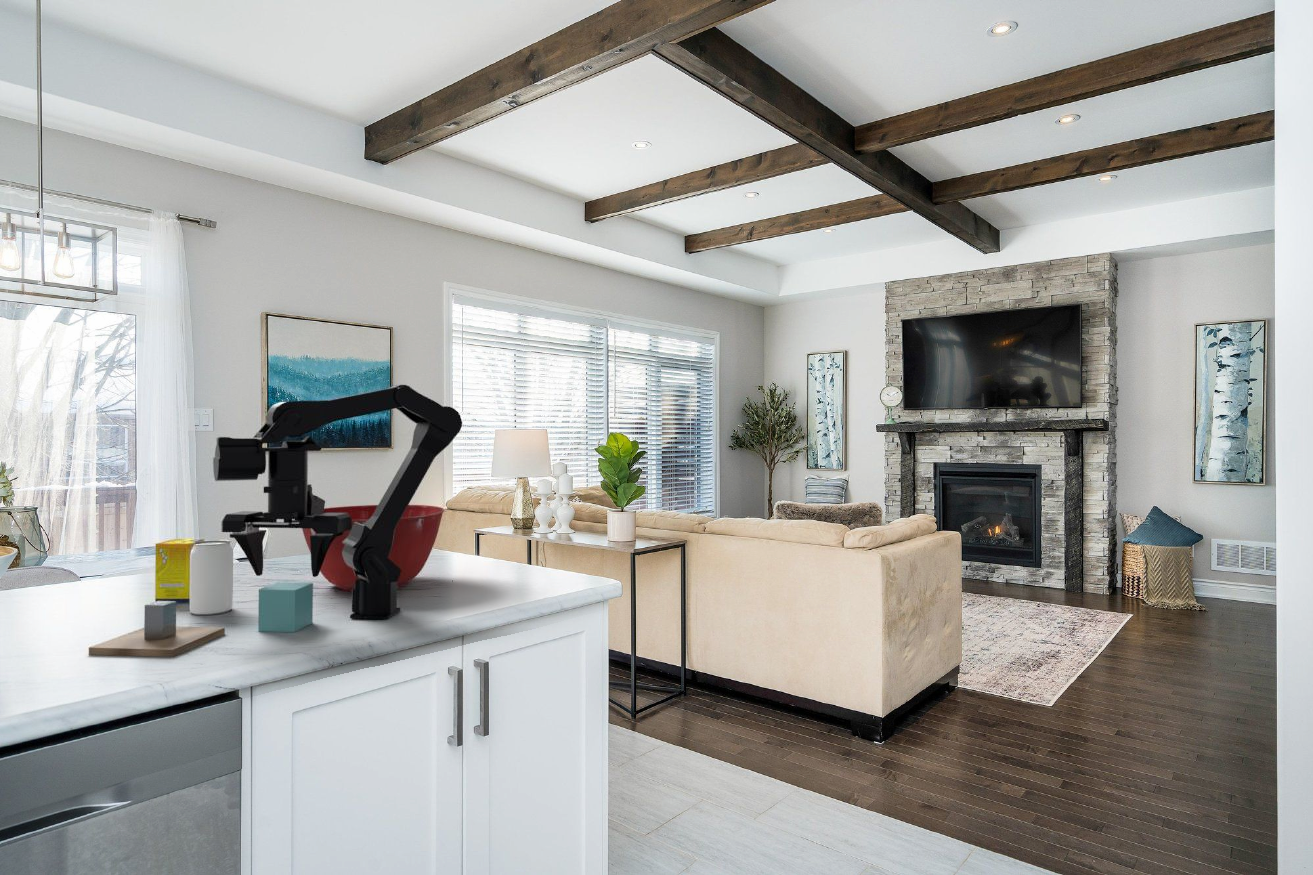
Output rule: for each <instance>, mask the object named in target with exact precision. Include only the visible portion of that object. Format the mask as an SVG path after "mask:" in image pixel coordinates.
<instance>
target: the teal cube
mask: <svg viewBox="0 0 1313 875" xmlns="http://www.w3.org/2000/svg"><path fill="white" fill-rule="evenodd" d="M313 599H314V583H313V582H295V581H294V582H292V581H291V582H288V581H286V582H285V581H284V582H283V581H282V582H281V581H278V582H275V583H273V584H270V585H267V586H264V587H261V588H259V589H258V616H257V618H258V619H257V620H258V621H257V622H258V627H257V628H258V630H257V631H258V632H274V633H275V632H276V633H280V632H281V633H295V632H297V631H299V630H301V629H303V628H305V627H307V626H310V625H311V624H313V621H314V620H313V619H314V618H313V616H314V615H313V610H314V608H313V607H314V603H313V602H314V600H313Z"/></svg>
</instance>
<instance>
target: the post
mask: <svg viewBox="0 0 1313 875" xmlns="http://www.w3.org/2000/svg"><path fill="white" fill-rule="evenodd" d="M143 625H144V627H143V628H144V639H148V640H164V639H167V638H169V637H172V636H174V635H176V626H177V603H176V601H156V602H155V601H154V602H150V603H146V604H144V624H143Z"/></svg>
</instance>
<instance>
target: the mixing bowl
mask: <svg viewBox="0 0 1313 875" xmlns="http://www.w3.org/2000/svg"><path fill="white" fill-rule="evenodd" d="M378 505H379V504H368V505H367V504H366V505H365V504H364V505H349V506H346V505H345V506H335V507H333V506H332V507H324V512H323V514H324V513H348V514H349V516H350V517H351V519H352V526H353V524H354V523H355V522H357V523H360V524H364V523H365V522H366V521H368V520H369V519H370V518H371V516H372V515H373V513H374V511H375V510H376V508H377V506H378ZM444 512H445V508H444V507H441V506H435V505H427V504H426V505H425V504H409V505H408V506H407V508H406V510H405V512H404V514H403V515H402V517H401V519H400V521H399V522H398V524H397V526H396V528H395V533H394V539H393V546H392V549H391V551H390V554H389V557H388V558H389V559H390V560H391V561H392V562H393V563H394V564H396V565H397V566H398V567H399V568H400V569H401V573H400V576H399V579H398V581H397V589H398V588H401V587H403V586H406V585H407V584H408V583H409V582H410V581H412V580H413V579H415V578H416V577H417V576H418V575H419V574H420V572H421V571H422V570H423V568H424V566H425V565H426V563H427V561H428V559H429V557H430V554H431V552H432V550H433V548H434V545H435V542H436V539H437V537H438V534H439V529H440V525H441V522H442V517H443V514H444ZM301 530H302V534H303V537H304V540H305V543H306V545H307V547H308V550H309V552H310V554H311V547H310V536H312V535H316V533H315V532H314V531H313V529H312V528H301ZM350 531H351V530H348V531H344V532H343V535H341V536H337V537H336V538H335V539H334V540H333V542H332V543H331V545H330V547H329V549H328V551H327V553H326V556H325V559H324V561H323V564H322V567H321V569H320V572H319V573H321V575H322V576H323V577H324V578H325V580H327V582H329V583H331V584H332V585H333V586H336V587H338V589H339V590H342V591H348V592H352V589H353V588H355V580H357V579H359V577H356V576H355V573H354V571H353V568H351V567H349V566H348V565H347V564H346V563H345V561H344V559H343V555H342V551H343V548H344V546H345V544H343V543H342V541H344V540H345V539H346V538H347V537H348V535H349V533H350Z"/></svg>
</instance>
